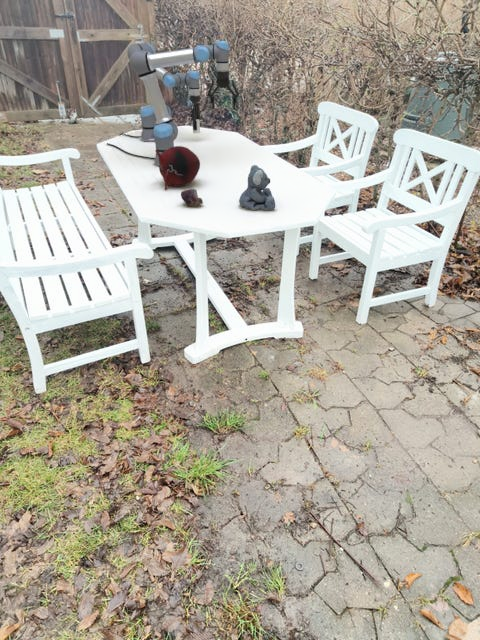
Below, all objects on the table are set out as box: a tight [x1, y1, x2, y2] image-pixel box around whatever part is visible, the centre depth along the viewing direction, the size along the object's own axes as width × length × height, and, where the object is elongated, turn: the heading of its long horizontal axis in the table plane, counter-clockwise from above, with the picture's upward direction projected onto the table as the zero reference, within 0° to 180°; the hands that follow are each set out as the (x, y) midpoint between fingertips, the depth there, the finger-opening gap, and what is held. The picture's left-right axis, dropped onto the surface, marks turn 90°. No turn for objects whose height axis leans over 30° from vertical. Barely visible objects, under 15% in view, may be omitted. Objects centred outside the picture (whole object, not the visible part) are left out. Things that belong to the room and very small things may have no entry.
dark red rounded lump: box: [155, 145, 201, 191], centre depth 255 cm, size 21×24×25 cm
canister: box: [192, 119, 201, 134], centre depth 338 cm, size 5×5×9 cm
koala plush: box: [238, 164, 276, 211], centre depth 224 cm, size 17×18×20 cm
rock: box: [180, 188, 204, 207], centre depth 229 cm, size 12×9×10 cm
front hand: (223, 108), depth 286 cm, fingers open, 13 cm apart
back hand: (196, 129), depth 339 cm, fingers closed on canister, 5 cm apart
